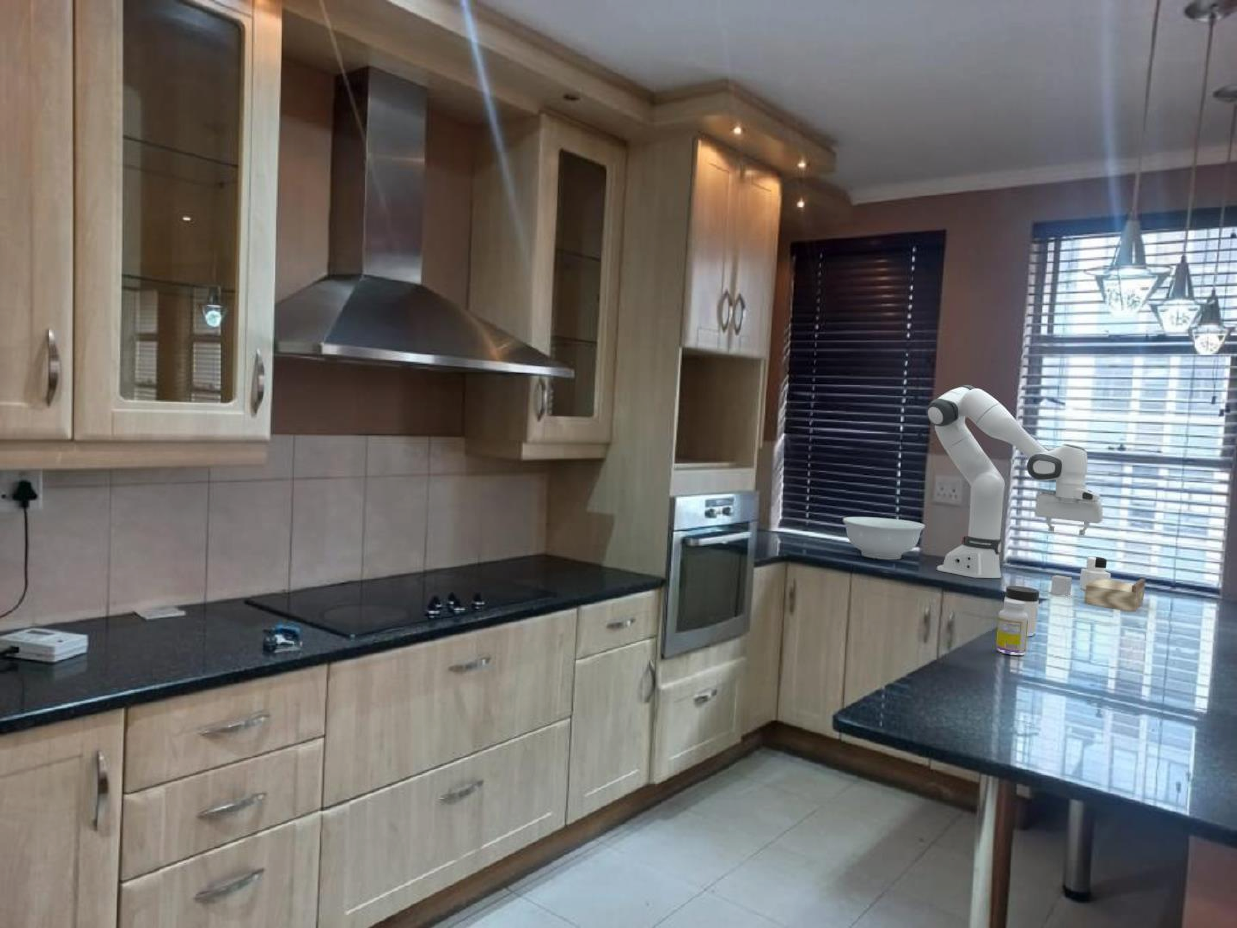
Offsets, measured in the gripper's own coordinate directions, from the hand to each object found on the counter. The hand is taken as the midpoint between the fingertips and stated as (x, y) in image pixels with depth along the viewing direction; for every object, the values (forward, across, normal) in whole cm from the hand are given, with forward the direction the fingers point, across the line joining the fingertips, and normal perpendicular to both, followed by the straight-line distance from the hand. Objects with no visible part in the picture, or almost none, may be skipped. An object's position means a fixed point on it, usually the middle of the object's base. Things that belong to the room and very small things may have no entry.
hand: (1066, 533), depth 290 cm
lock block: (+21, 0, 0) cm, 21 cm away
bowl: (+21, -71, +20) cm, 77 cm away
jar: (+21, +4, -73) cm, 76 cm away
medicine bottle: (+21, +7, +19) cm, 29 cm away
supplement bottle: (+21, +8, -98) cm, 101 cm away
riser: (+21, +16, 0) cm, 26 cm away
